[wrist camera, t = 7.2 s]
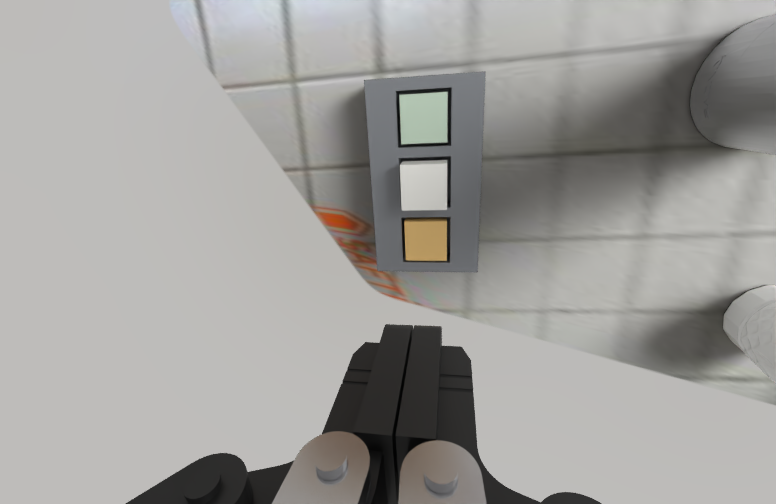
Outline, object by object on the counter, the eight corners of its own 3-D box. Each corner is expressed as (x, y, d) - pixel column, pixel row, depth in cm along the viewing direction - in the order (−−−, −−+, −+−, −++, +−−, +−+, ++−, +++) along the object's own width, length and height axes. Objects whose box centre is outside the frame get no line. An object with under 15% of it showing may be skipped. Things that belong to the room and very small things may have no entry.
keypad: (480, 75, 30) (485, 71, 26) (474, 255, 36) (477, 272, 32) (373, 83, 32) (364, 80, 28) (384, 254, 37) (377, 271, 34)
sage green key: (447, 92, 29) (447, 91, 27) (447, 140, 30) (447, 142, 28) (402, 95, 29) (399, 94, 28) (404, 141, 31) (401, 144, 29)
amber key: (446, 214, 33) (446, 221, 31) (446, 252, 34) (446, 260, 32) (406, 215, 33) (404, 221, 31) (408, 252, 34) (405, 260, 33)
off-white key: (447, 159, 29) (447, 163, 27) (446, 203, 31) (447, 210, 29) (402, 161, 30) (399, 165, 28) (404, 204, 31) (401, 210, 29)
